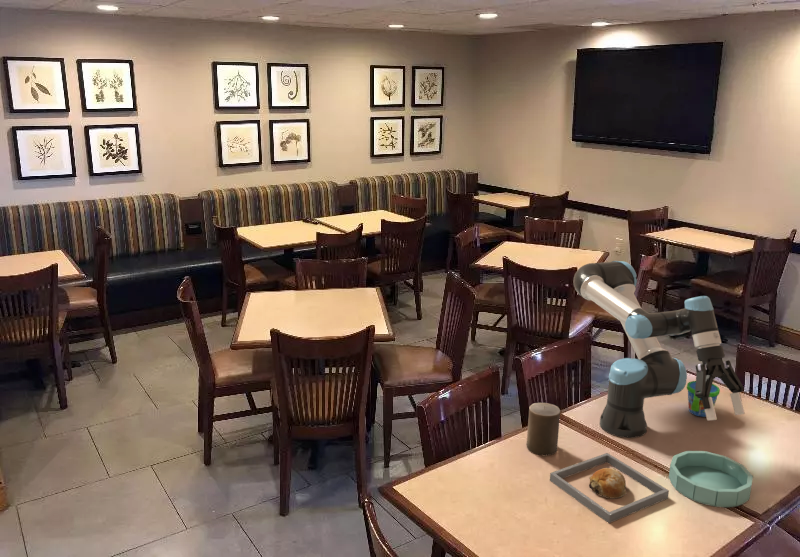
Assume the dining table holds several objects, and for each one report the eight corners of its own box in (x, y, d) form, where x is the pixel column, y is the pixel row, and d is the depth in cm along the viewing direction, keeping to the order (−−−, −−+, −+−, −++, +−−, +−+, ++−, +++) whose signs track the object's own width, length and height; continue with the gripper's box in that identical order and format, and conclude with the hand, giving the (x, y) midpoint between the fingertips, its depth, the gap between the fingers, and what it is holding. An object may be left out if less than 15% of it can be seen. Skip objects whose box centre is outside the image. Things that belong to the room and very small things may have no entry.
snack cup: (694, 401, 244) (697, 375, 241) (723, 410, 237) (727, 384, 234) (675, 415, 234) (678, 388, 231) (706, 425, 226) (709, 398, 224)
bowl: (653, 477, 196) (655, 462, 194) (700, 458, 206) (702, 444, 204) (717, 516, 178) (720, 499, 177) (765, 493, 188) (768, 478, 187)
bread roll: (619, 512, 186) (635, 491, 183) (587, 494, 186) (601, 473, 184) (616, 492, 195) (630, 471, 193) (584, 475, 196) (598, 454, 193)
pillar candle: (544, 459, 206) (548, 415, 202) (520, 446, 213) (523, 404, 209) (563, 448, 212) (567, 406, 208) (538, 437, 219) (541, 395, 215)
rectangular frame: (549, 480, 194) (550, 472, 194) (606, 460, 205) (607, 452, 205) (608, 523, 175) (609, 515, 174) (667, 498, 186) (668, 490, 185)
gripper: (693, 347, 192) (711, 421, 188) (744, 342, 205) (762, 411, 200) (671, 351, 199) (688, 423, 194) (722, 346, 211) (739, 413, 207)
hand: (726, 417), depth 197 cm, fingers open, 13 cm apart
